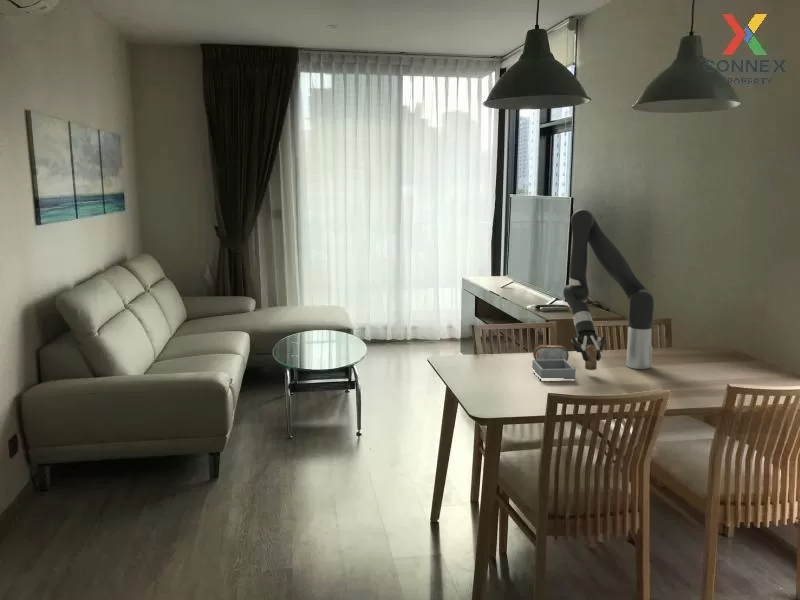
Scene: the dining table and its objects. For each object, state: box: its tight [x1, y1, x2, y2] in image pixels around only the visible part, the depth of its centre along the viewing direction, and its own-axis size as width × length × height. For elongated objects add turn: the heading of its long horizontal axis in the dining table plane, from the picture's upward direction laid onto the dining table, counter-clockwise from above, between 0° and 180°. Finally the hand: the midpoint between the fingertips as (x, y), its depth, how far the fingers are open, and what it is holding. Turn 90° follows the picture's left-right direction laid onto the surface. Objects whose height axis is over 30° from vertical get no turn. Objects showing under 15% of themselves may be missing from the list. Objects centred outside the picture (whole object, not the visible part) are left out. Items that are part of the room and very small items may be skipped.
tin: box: [532, 344, 570, 362], centre depth 276 cm, size 15×3×8 cm, turn 84°
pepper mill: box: [584, 344, 597, 371], centre depth 258 cm, size 4×4×10 cm
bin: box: [531, 359, 576, 380], centre depth 258 cm, size 14×15×5 cm
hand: (592, 359), depth 256 cm, fingers closed on pepper mill, 4 cm apart
